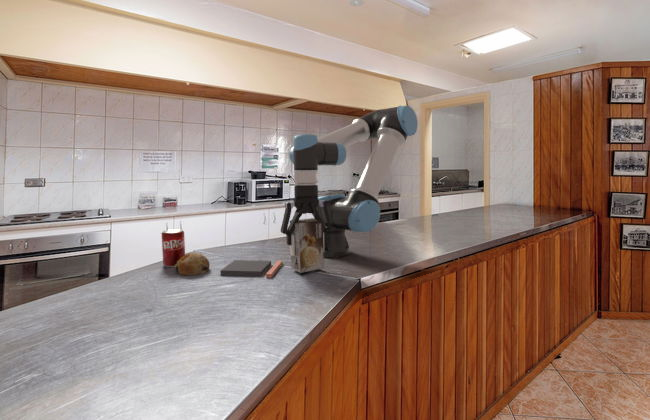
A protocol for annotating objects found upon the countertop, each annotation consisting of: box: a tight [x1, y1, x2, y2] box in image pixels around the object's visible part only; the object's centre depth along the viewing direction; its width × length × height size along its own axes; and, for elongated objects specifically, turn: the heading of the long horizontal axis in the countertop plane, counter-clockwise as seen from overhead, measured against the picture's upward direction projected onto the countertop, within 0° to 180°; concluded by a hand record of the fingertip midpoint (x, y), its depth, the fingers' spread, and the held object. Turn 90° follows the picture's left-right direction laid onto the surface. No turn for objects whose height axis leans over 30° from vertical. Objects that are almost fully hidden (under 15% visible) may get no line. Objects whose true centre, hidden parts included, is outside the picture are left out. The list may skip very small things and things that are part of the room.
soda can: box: [160, 228, 186, 268], centre depth 123 cm, size 7×7×12 cm
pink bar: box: [265, 260, 283, 279], centre depth 116 cm, size 2×16×1 cm, turn 175°
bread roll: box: [174, 252, 211, 276], centre depth 115 cm, size 10×10×8 cm
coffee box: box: [289, 217, 325, 274], centre depth 114 cm, size 9×6×16 cm
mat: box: [220, 259, 272, 277], centre depth 117 cm, size 13×13×2 cm
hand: (307, 253), depth 115 cm, fingers closed on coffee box, 10 cm apart
